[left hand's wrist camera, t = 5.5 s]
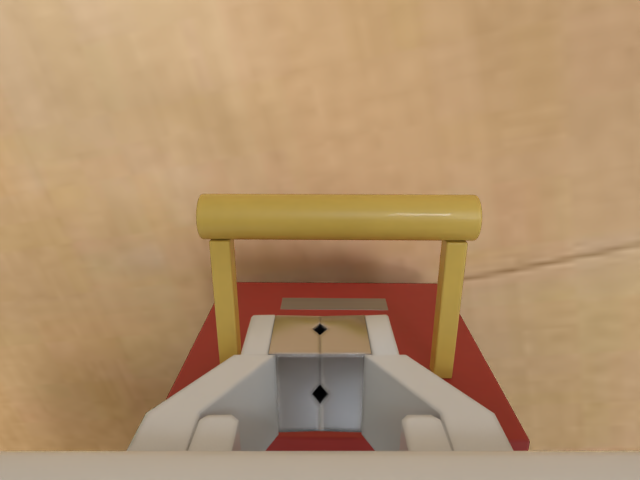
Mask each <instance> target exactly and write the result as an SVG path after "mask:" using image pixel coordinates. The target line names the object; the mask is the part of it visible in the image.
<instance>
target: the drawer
mask: <svg viewBox="0 0 640 480" xmlns="http://www.w3.org/2000/svg"><path fill="white" fill-rule="evenodd" d="M196 223H197V229H198V233H199V235H200V237H201V238H202V239H211V240H210V241H209V247H210V259H211V270H212V281H213V293H214V305H213V307H212V309H211V311H210V313H209V315H208V317H207V319H206V321H205V323H204V325H203V327H202V329H201V331H200V333H199V335H198V337H197V339H196V341H195V343H194V345H193V347H192V349H191V351H190V353H189V355H188V357H187V359H186V361H185V363H184V365H183V367H182V369H181V371H180V373H179V375H178V377H177V379H176V381H175V383H174V385H173V387H172V389H171V391H170V393H169V395H168V396H167V398H166V399H168V398H170V397H171V396H173V395H174V394H176V393H177V392H179V391H180V390H182V389H183V388H185V387H186V386H188V385H189V384H191V383H192V382H194V381H195V380H197V379H198V378H200V377H201V376H203V375H204V374H206V373H207V372H209V371H210V370H212V369H213V368H215V367H216V366H218V365H219V364H221V363H222V362H224V361H226V360H227V359H229V358H230V357H232V356H233V355H241V351H242V348H243V344H244V341H245V338H246V334H247V331H248V327H249V324H250V320H251V317H252V316H253V315H275V316H276V315H298V316H346V315H387V316H388V317H389V321H390V324H391V327H392V331H393V334H394V338H395V341H396V345H397V348H398V352H399V355H407V356H408V357H410V358H411V359H413V360H414V361H416V362H417V363H419V364H420V365H422V366H423V367H425V368H427V369H428V370H430V371H431V372H433V373H434V374H436V375H437V376H439V377H440V378H442V379H443V380H445V381H446V382H448V383H449V384H451V385H452V386H454V387H455V388H457V389H458V390H460V391H461V392H463V393H464V394H466V395H467V396H469V397H470V398H472V399H473V400H475V401H476V402H478V403H479V404H481V405H482V406H484V407H485V408H487V409H488V410H490V411H491V412H493V413H494V414H495V416H496V418H497V419H498V421H499V423H500V425H501V427H502V429H503V431H504V433H505V435H506V437H507V439H508V441H509V443H510V445H511V447H512V449H513V451H528V448H529V443H530V441H529V439H528V437H527V435H526V433H525V431H524V430H523V428H522V426H521V424H520V422H519V420H518V419H517V417H516V415H515V413H514V411H513V410H512V408H511V406H510V404H509V402H508V401H507V399H506V397H505V395H504V393H503V392H502V390H501V388H500V386H499V384H498V382H497V381H496V379H495V377H494V375H493V373H492V372H491V370H490V368H489V366H488V364H487V363H486V361H485V359H484V357H483V355H482V353H481V352H480V350H479V348H478V346H477V344H476V343H475V341H474V339H473V337H472V335H471V334H470V332H469V330H468V328H467V326H466V325H465V323H464V321H463V319H462V317H461V315H460V314H459V313H460V304H461V296H462V288H463V279H464V271H465V262H466V254H467V245H468V244H467V242H466V241H473V240H476V239H477V238H478V236H479V234H480V230H481V225H482V208H481V203H480V200H479V198H478V197H477V196H476V195H365V194H202V195H200V197H199V199H198V203H197V209H196ZM234 239H278V240H442V245H441V255H440V265H439V276H438V284H411V283H269V282H237V281H236V267H235V252H234ZM278 433H279V435H278V436H277V437H276V438H275V440H274V441H273V442H272V443H271V444H270V446H269V447H268V448H267V449H266V451H375V450H374V449H373V448H372V447H371V445H370V444H369V443H368V442H367V440H366V439H365V438H364V437H363V435H362V432H332V431H307V432H278Z"/></svg>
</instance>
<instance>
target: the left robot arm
mask: <svg viewBox="0 0 640 480" xmlns="http://www.w3.org/2000/svg"><path fill="white" fill-rule="evenodd" d="M307 431H332V432H362V435H363V437H364V438H365V439H366V440H367V442H368V443H369V444H370V445H371V447H372V448H373V449H374V450H375V451H266V449H267V448H268V447H269V446H270V444H271V443H272V442H273V441H274V440H275V438H276V437H277V436H278V435H279V433H278V432H307ZM0 480H640V451H513V449H512V447H511V445H510V443H509V441H508V439H507V437H506V435H505V433H504V431H503V429H502V427H501V425H500V423H499V421H498V419H497V418H496V416H495V414H494V413H493V412H491V411H490V410H488V409H487V408H485V407H484V406H482V405H481V404H479V403H478V402H476V401H475V400H473V399H472V398H470V397H469V396H467V395H466V394H464V393H463V392H461V391H460V390H458V389H457V388H455V387H454V386H452V385H451V384H449V383H448V382H446V381H445V380H443V379H442V378H440V377H439V376H437V375H436V374H434V373H433V372H431V371H430V370H428V369H427V368H425V367H423V366H422V365H420V364H419V363H417V362H416V361H414V360H413V359H411V358H410V357H408V356H407V355H399V352H398V348H397V345H396V341H395V338H394V334H393V331H392V327H391V324H390V321H389V317H388V316H387V315H346V316H298V315H276V316H275V315H253V316H252V317H251V320H250V324H249V327H248V331H247V334H246V338H245V341H244V344H243V348H242V351H241V355H233V356H232V357H230V358H229V359H227V360H226V361H224V362H222V363H221V364H219V365H218V366H216V367H215V368H213V369H212V370H210V371H209V372H207V373H206V374H204V375H203V376H201V377H200V378H198V379H197V380H195V381H194V382H192V383H191V384H189V385H188V386H186V387H185V388H183V389H182V390H180V391H179V392H177V393H176V394H174V395H173V396H171V397H170V398H168V399H166V400H165V401H163V402H162V403H160V404H159V405H157V406H156V407H154V408H153V409H151V410H150V411H148V412H147V413H146V414H145V416H144V418H143V420H142V422H141V424H140V426H139V428H138V429H137V431H136V433H135V435H134V437H133V439H132V441H131V443H130V445H129V447H128V449H127V451H0Z"/></svg>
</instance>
